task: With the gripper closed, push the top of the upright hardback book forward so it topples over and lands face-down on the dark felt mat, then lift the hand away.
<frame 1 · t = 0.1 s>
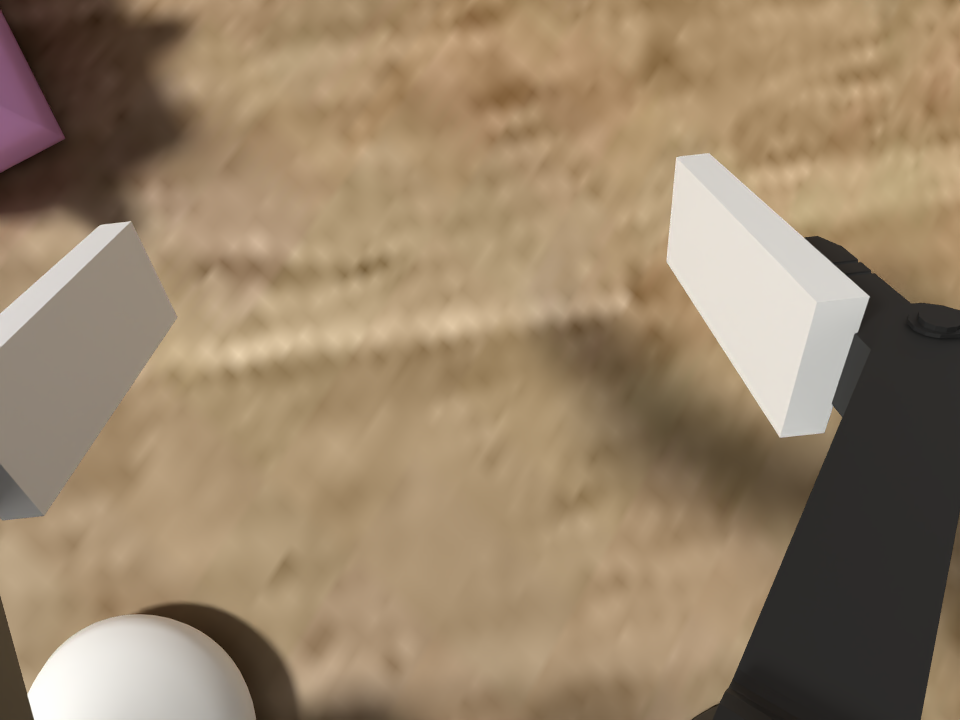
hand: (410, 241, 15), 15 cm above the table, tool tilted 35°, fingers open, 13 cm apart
flower in vase: (174, 698, 31), on the table
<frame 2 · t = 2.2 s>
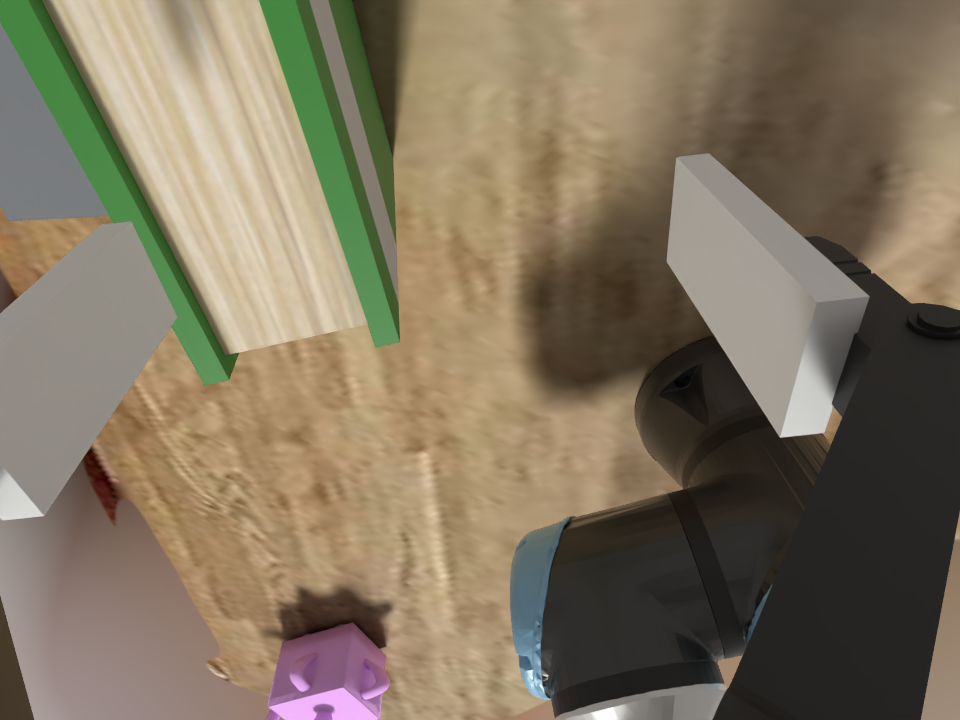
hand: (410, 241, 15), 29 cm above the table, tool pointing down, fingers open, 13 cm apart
teapot: (329, 640, 77), on the table
hardback book: (298, 29, 37), on the table, touching felt mat
felt mat: (80, 40, 37), on the table
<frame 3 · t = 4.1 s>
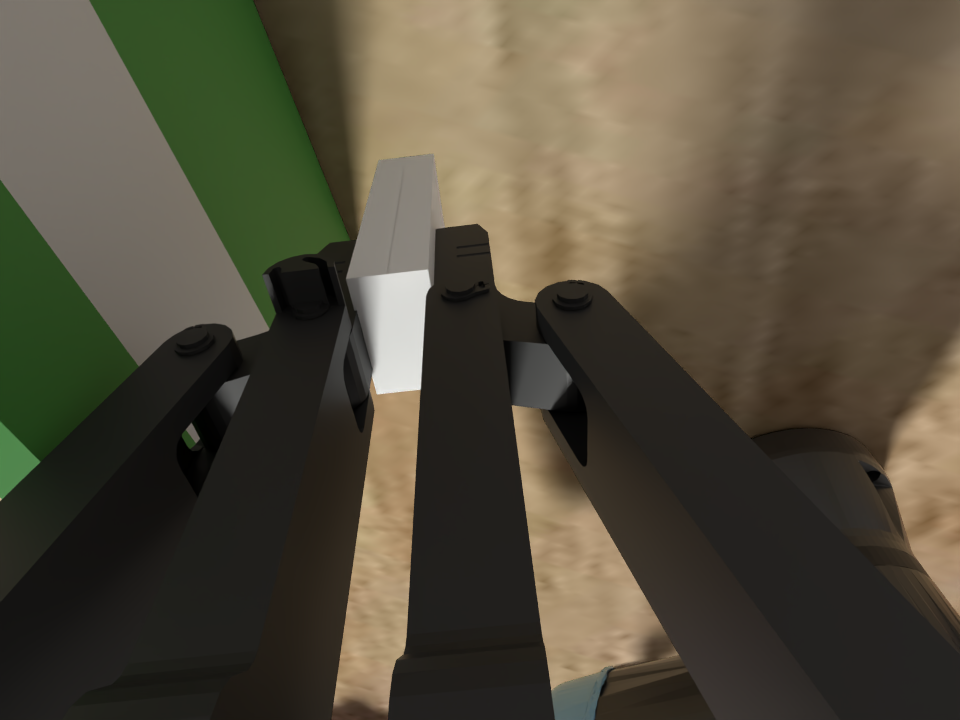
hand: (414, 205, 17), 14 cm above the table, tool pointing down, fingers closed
hardback book: (219, 121, 28), on the table, touching felt mat
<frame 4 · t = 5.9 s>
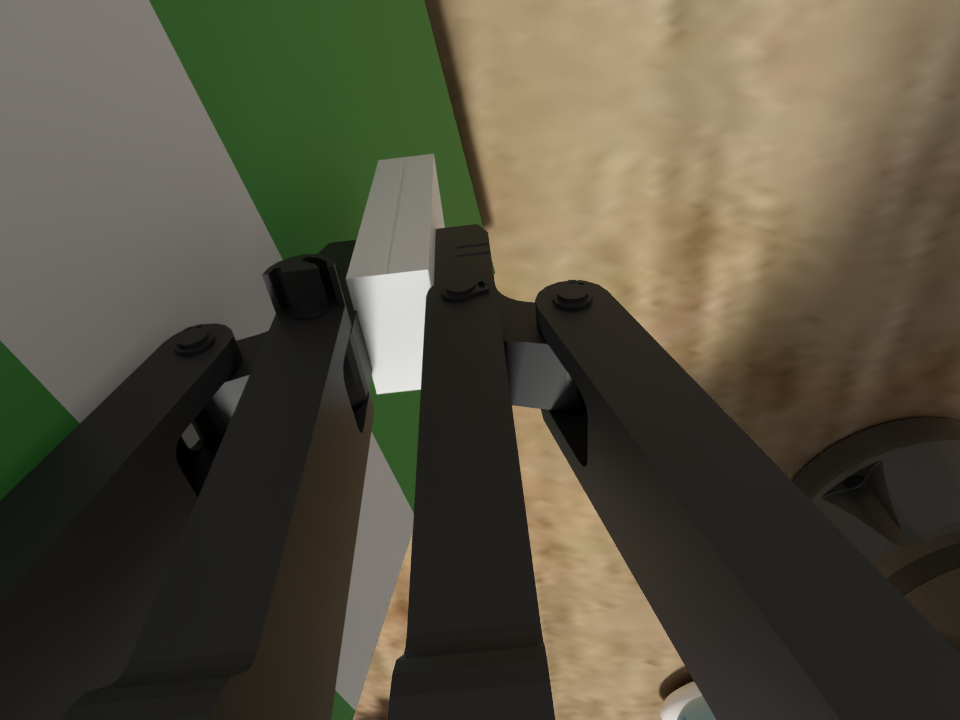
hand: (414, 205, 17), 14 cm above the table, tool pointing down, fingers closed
flower in vase: (705, 685, 64), on the table
hardback book: (374, 113, 27), point 1 cm above the table, touching felt mat
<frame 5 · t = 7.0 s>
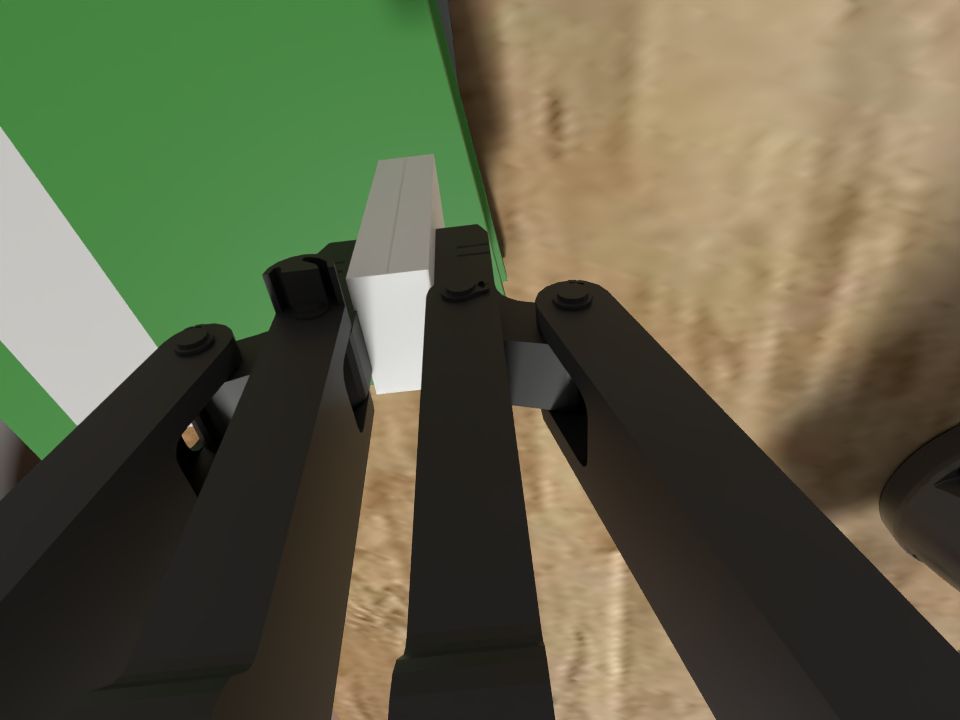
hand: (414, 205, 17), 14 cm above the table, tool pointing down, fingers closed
hardback book: (470, 129, 24), point 4 cm above the table, touching felt mat
felt mat: (258, 118, 28), on the table
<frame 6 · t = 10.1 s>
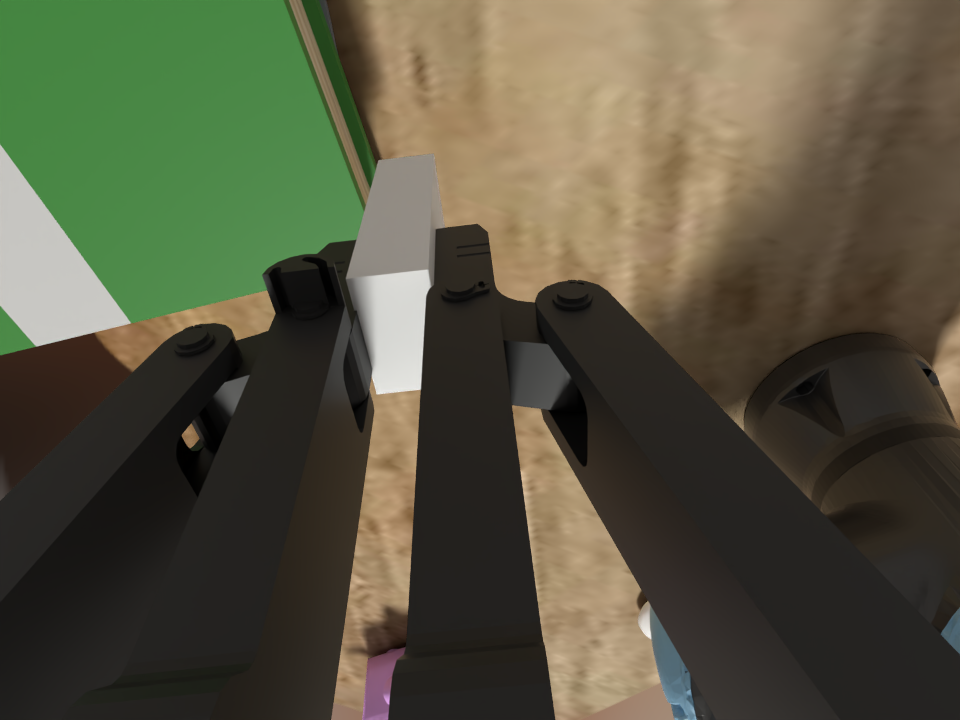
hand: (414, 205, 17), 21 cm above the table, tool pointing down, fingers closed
flower in vase: (678, 596, 71), on the table
teapot: (413, 653, 76), on the table
hardback book: (334, 75, 30), point 4 cm above the table, touching felt mat
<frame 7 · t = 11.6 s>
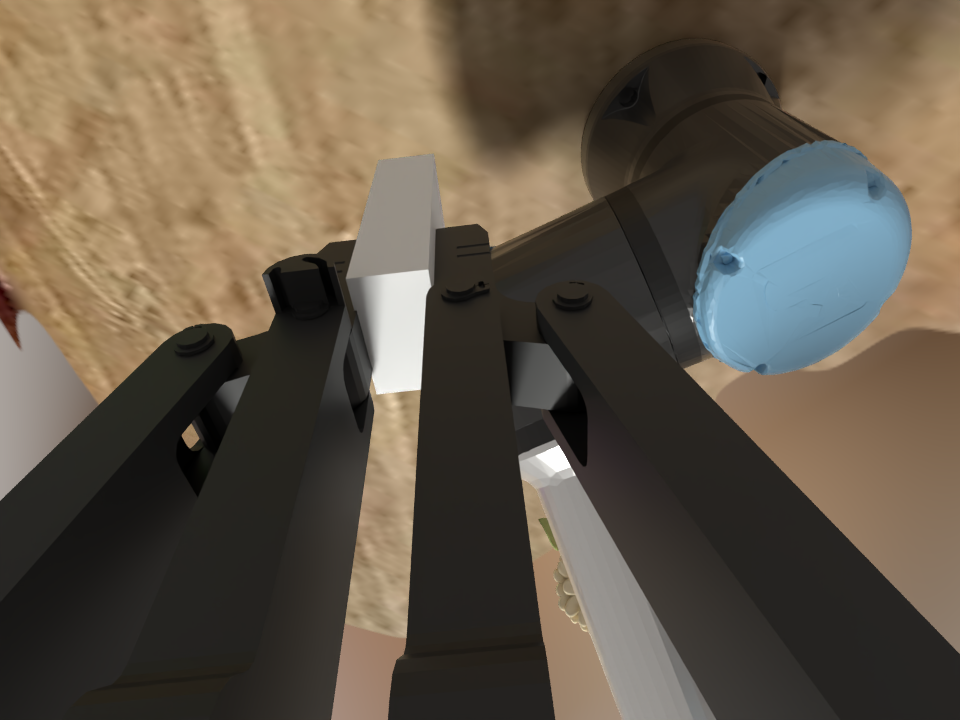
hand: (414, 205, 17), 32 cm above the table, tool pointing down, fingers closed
flower in vase: (556, 422, 67), on the table
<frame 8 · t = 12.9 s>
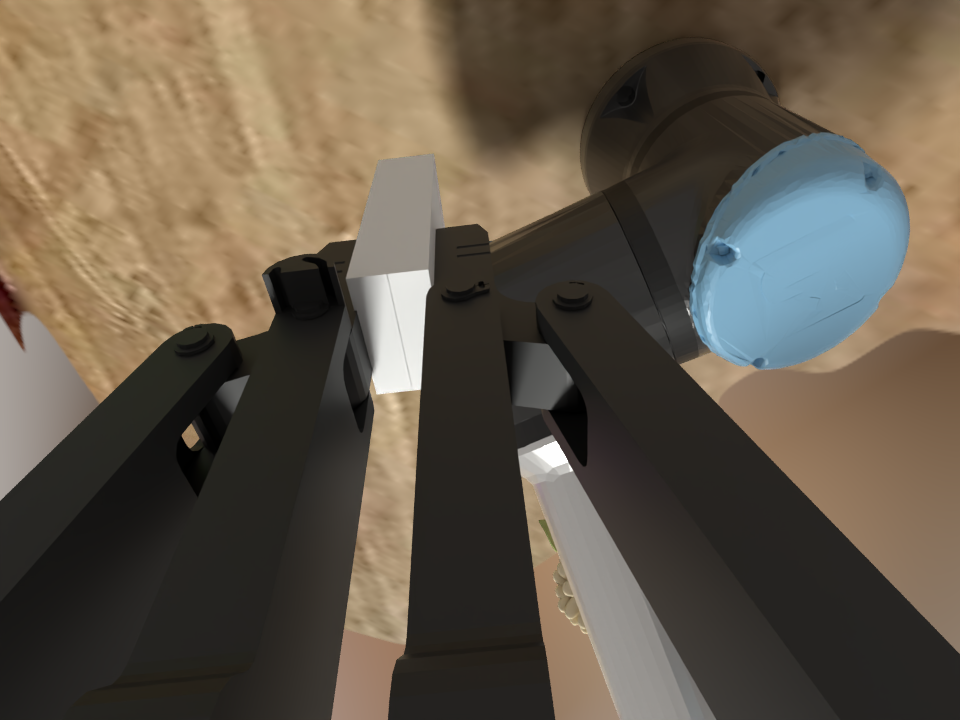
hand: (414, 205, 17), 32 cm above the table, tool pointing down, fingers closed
flower in vase: (558, 425, 66), on the table
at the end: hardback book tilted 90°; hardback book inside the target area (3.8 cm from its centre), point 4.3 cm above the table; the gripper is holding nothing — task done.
